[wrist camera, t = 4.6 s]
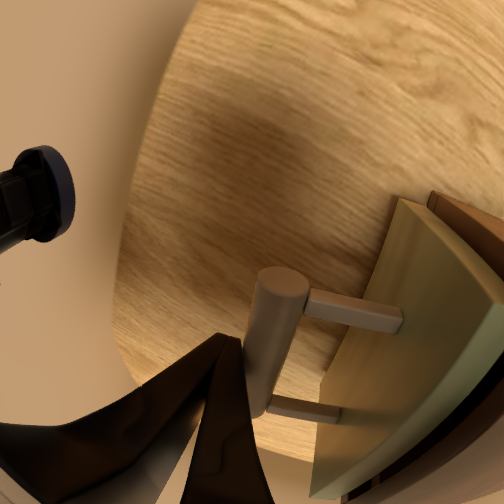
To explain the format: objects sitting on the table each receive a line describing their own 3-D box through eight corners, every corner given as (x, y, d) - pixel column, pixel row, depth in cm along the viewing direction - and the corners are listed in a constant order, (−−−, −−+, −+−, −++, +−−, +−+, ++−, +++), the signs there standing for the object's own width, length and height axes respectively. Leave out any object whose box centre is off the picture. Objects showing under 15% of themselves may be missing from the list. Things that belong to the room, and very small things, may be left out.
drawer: (244, 366, 14) (206, 478, 8) (288, 166, 10) (244, 238, 4) (479, 397, 13) (501, 476, 7) (563, 268, 8) (625, 339, 2)
